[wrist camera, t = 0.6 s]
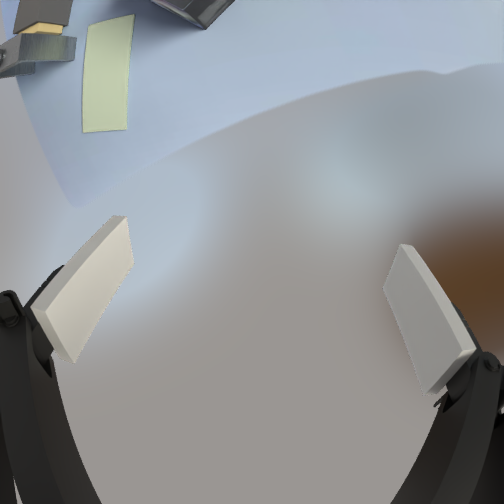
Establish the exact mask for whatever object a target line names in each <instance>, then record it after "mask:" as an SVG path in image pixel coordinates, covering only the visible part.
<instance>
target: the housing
mask: <svg viewBox="0 0 504 504" xmlns="http://www.w3.org/2000/svg"><path fill="white" fill-rule="evenodd" d="M76 39H77V38H76V37H69V36H60V35H50V34H37V33H21V34H19V35H17V36H15V37H14V38H12V39H10V40H8V41H7V42H5V43H3V44H2V45H0V79H1V78H7V77H14V76H21V75H30V74H33V73H34V68H35V62H37V61H72V60H74V57H75V48H76Z"/></svg>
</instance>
